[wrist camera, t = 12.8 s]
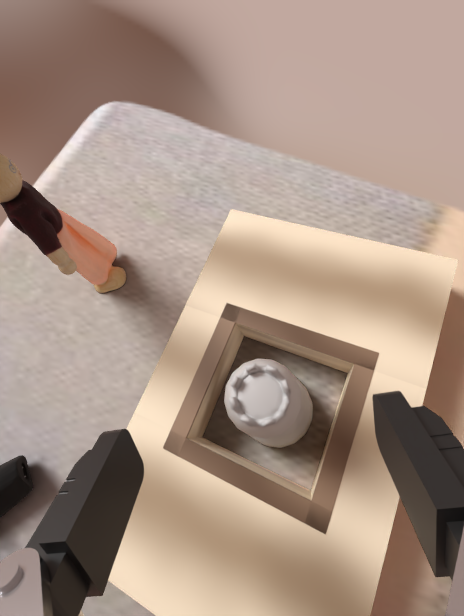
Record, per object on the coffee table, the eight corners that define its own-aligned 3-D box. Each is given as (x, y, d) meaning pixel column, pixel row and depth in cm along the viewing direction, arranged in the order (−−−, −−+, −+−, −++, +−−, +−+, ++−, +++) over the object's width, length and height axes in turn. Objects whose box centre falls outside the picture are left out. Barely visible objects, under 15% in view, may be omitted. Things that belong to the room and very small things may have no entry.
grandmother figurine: (146, 277, 26) (14, 149, 14) (110, 311, 25) (-57, 209, 14) (96, 226, 29) (-47, 87, 17) (63, 256, 28) (-106, 135, 17)
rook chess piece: (269, 358, 21) (250, 319, 14) (327, 402, 20) (341, 384, 12) (226, 413, 21) (183, 402, 13) (283, 464, 19) (269, 484, 12)
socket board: (331, 691, 15) (337, 749, 12) (101, 534, 20) (68, 551, 17) (438, 282, 21) (458, 259, 18) (239, 233, 25) (231, 209, 22)
